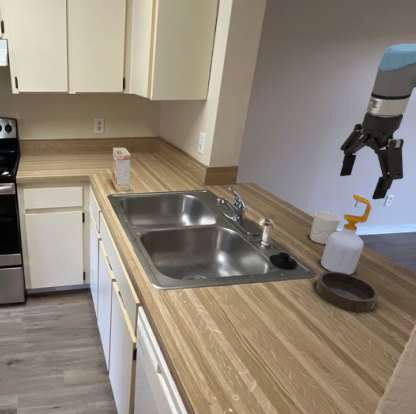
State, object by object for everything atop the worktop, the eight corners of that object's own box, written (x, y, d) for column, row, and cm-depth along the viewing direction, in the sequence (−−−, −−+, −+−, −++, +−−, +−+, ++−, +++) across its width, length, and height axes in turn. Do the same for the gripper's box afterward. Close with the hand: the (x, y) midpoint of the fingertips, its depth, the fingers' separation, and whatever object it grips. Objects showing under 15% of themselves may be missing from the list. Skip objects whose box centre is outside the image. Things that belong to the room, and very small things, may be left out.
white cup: (303, 235, 127) (309, 212, 123) (321, 234, 128) (328, 210, 124) (319, 246, 119) (327, 221, 115) (338, 244, 121) (346, 219, 117)
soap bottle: (319, 257, 113) (340, 189, 103) (352, 264, 108) (377, 194, 99) (320, 270, 106) (343, 198, 96) (355, 278, 101) (382, 205, 92)
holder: (366, 287, 97) (370, 278, 96) (380, 317, 86) (385, 306, 84) (312, 276, 102) (315, 267, 101) (319, 303, 91) (323, 293, 90)
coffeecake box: (112, 181, 186) (112, 147, 178) (124, 181, 186) (125, 147, 178) (116, 191, 172) (116, 154, 164) (129, 190, 173) (131, 154, 165)
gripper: (337, 101, 94) (321, 168, 105) (409, 131, 73) (379, 211, 84) (365, 97, 93) (345, 165, 105) (445, 126, 72) (410, 207, 84)
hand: (360, 186), depth 94 cm, fingers open, 13 cm apart
